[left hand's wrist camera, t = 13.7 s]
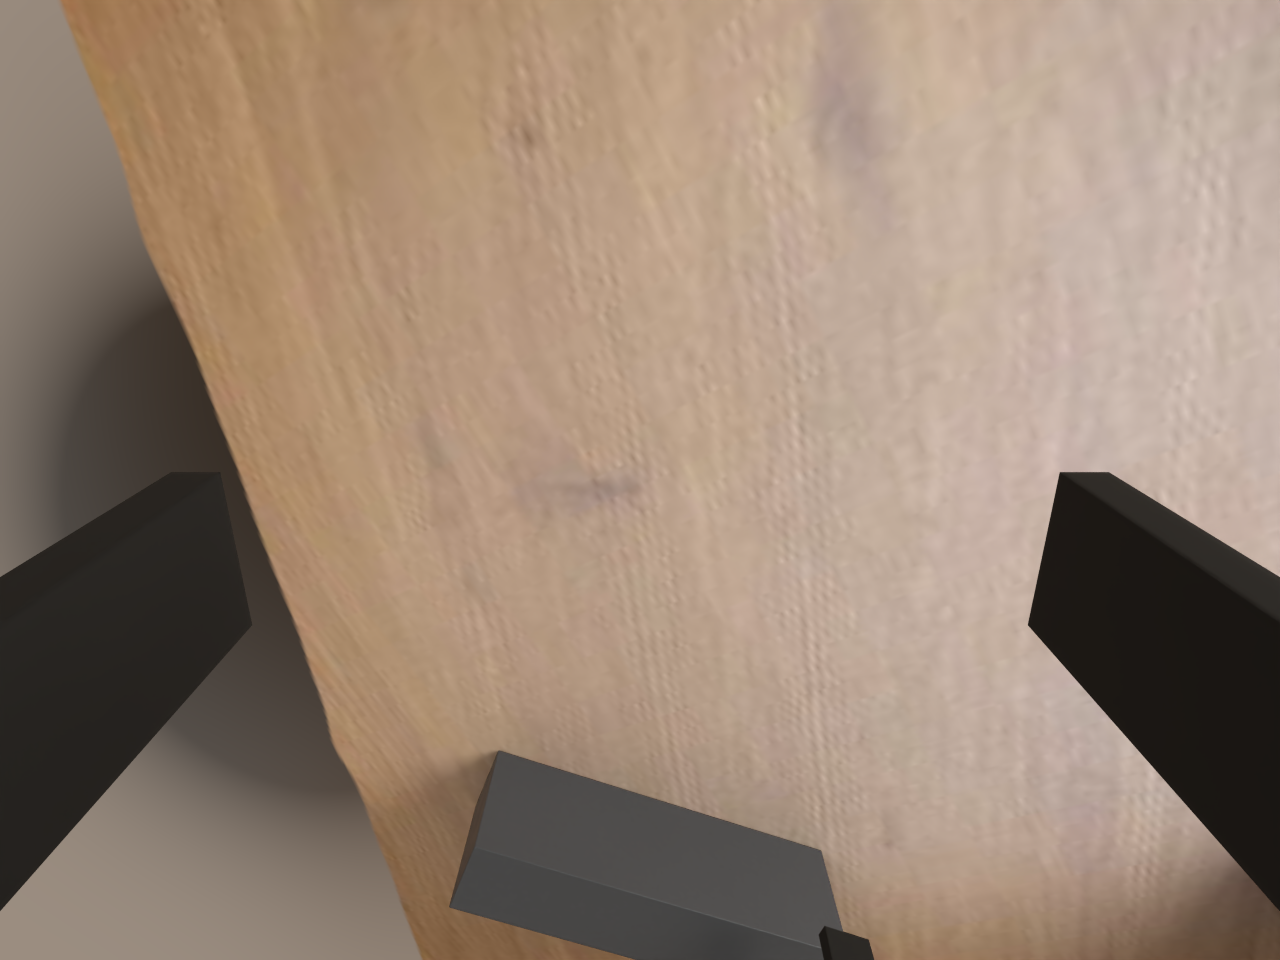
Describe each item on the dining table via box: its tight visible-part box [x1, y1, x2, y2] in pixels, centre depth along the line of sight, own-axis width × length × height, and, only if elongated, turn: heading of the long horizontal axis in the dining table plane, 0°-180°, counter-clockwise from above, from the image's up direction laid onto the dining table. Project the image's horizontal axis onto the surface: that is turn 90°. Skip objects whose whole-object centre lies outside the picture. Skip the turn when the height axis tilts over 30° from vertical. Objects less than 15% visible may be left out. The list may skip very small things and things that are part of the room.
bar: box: [449, 751, 843, 960], centre depth 50 cm, size 24×5×8 cm, turn 68°
